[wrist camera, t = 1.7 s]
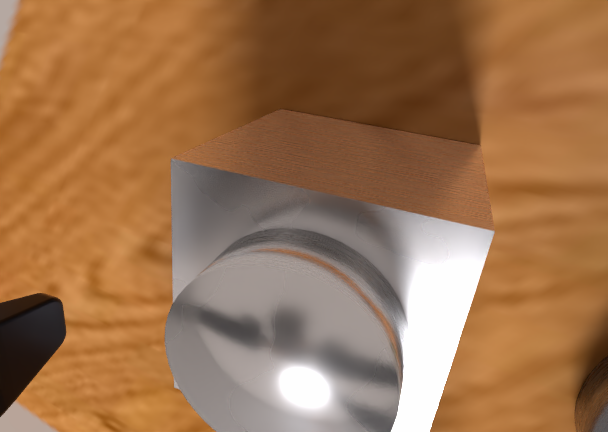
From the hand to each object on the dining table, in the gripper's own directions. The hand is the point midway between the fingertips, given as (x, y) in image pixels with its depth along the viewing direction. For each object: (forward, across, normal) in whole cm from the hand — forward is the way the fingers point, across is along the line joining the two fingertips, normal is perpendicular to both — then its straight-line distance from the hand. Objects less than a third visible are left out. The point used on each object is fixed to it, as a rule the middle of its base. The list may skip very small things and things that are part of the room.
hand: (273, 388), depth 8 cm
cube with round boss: (+8, 0, 0) cm, 8 cm away
